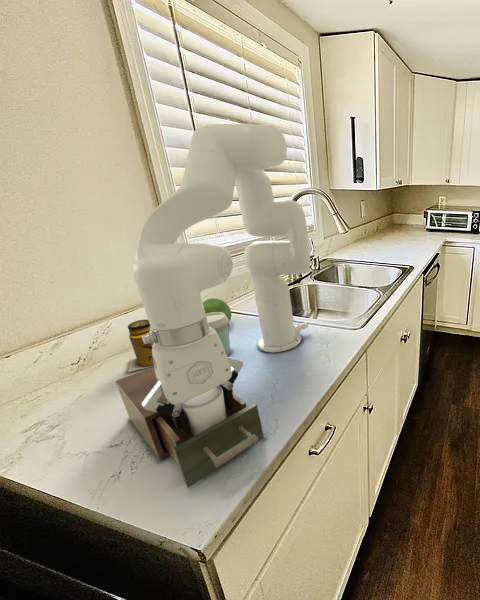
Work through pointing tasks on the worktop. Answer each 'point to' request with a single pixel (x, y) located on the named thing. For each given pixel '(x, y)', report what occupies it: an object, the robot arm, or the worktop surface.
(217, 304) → the fruit
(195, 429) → the white candle jar
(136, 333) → the condiment
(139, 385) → the cabinet
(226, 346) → the coffee cup
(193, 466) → the drawer
